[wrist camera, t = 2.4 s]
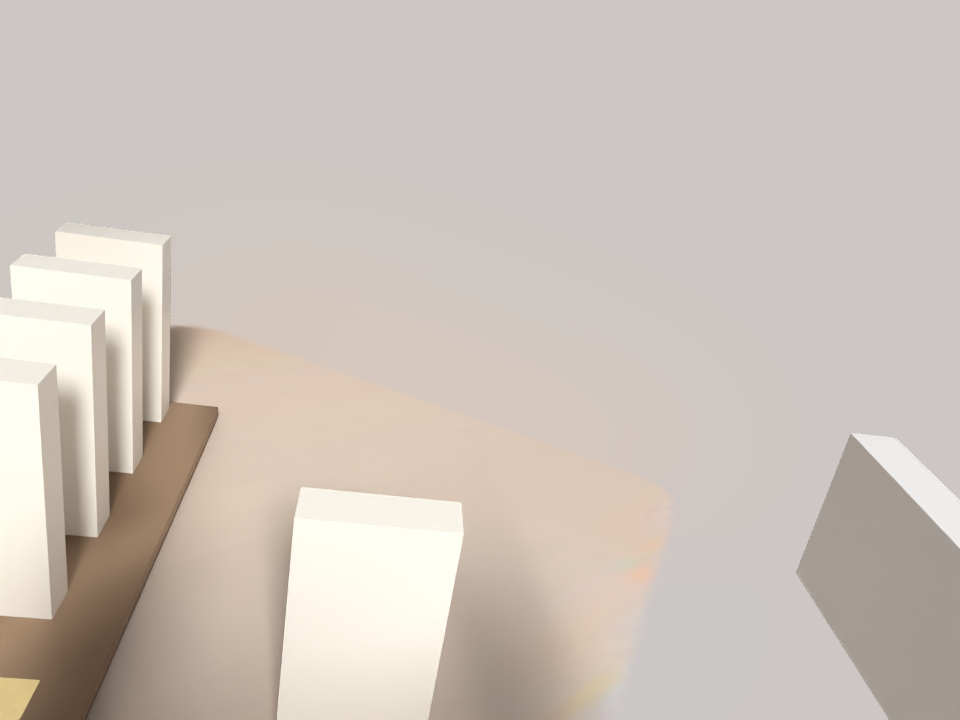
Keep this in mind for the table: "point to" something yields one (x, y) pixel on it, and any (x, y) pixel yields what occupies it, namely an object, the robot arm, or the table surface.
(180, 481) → the board
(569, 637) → the table surface
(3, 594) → the domino
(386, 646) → the domino
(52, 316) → the domino
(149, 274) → the domino
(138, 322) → the domino
